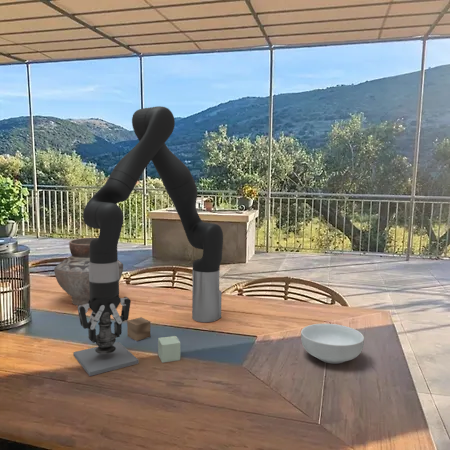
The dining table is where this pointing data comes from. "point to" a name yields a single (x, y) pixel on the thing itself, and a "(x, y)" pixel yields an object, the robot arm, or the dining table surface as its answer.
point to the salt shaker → (105, 335)
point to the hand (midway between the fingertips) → (105, 338)
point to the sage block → (169, 349)
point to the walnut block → (138, 329)
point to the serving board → (105, 359)
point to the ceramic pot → (77, 271)
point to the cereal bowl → (332, 342)
